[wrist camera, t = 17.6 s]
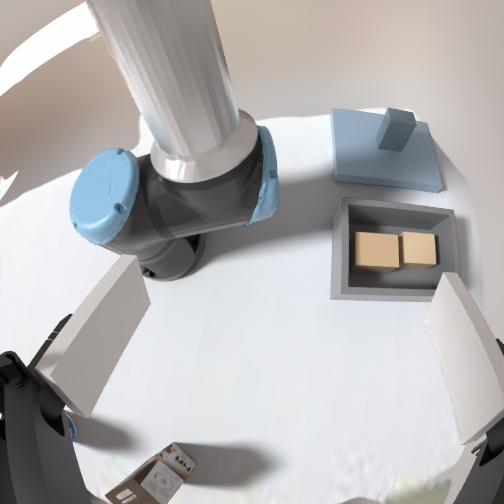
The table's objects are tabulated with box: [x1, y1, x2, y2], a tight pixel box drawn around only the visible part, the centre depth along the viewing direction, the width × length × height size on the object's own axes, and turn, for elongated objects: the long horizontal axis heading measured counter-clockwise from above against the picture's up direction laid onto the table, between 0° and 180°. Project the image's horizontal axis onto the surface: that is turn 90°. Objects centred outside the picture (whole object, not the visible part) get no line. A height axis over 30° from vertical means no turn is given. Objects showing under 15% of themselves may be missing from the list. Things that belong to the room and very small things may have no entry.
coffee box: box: [105, 443, 196, 504], centre depth 33 cm, size 9×6×16 cm
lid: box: [331, 108, 443, 193], centre depth 45 cm, size 22×16×12 cm
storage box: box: [330, 197, 460, 302], centre depth 41 cm, size 20×14×9 cm
